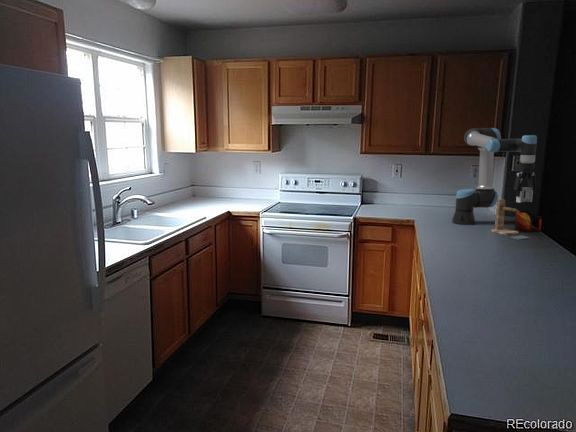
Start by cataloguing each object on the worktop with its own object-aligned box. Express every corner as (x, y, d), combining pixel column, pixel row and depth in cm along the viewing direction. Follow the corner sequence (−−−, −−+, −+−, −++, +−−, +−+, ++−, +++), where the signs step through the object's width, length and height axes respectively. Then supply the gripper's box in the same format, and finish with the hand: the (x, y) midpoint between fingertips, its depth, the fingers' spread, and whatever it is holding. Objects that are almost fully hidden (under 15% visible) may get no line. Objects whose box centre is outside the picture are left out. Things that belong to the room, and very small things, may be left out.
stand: (490, 231, 273) (493, 200, 270) (502, 229, 277) (505, 199, 273) (507, 235, 262) (510, 202, 258) (520, 234, 265) (522, 201, 261)
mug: (540, 232, 269) (542, 213, 267) (516, 231, 273) (518, 212, 271) (536, 229, 278) (538, 210, 276) (512, 228, 282) (514, 210, 280)
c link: (521, 202, 248) (522, 188, 247) (516, 201, 251) (517, 187, 250) (531, 201, 251) (532, 187, 250) (526, 200, 254) (527, 187, 252)
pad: (510, 237, 256) (510, 236, 256) (521, 236, 259) (521, 235, 259) (518, 239, 250) (519, 238, 250) (530, 238, 253) (530, 237, 253)
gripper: (519, 163, 240) (516, 203, 244) (546, 162, 247) (542, 201, 251) (508, 162, 247) (505, 202, 251) (534, 161, 254) (531, 200, 258)
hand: (523, 201), depth 251 cm, fingers closed on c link, 8 cm apart
